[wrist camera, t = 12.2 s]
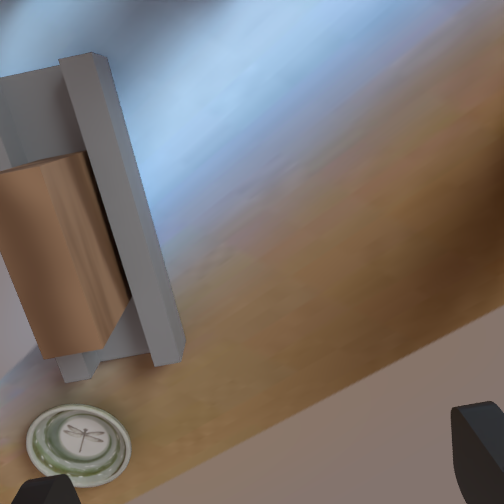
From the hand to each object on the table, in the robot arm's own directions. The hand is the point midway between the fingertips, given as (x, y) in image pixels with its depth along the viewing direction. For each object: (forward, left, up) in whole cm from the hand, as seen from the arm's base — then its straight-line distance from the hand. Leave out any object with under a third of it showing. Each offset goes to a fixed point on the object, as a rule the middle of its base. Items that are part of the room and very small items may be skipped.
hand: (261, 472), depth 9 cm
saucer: (+20, +20, -28) cm, 40 cm away
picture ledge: (+13, 0, -28) cm, 31 cm away
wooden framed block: (+13, 0, -27) cm, 30 cm away
